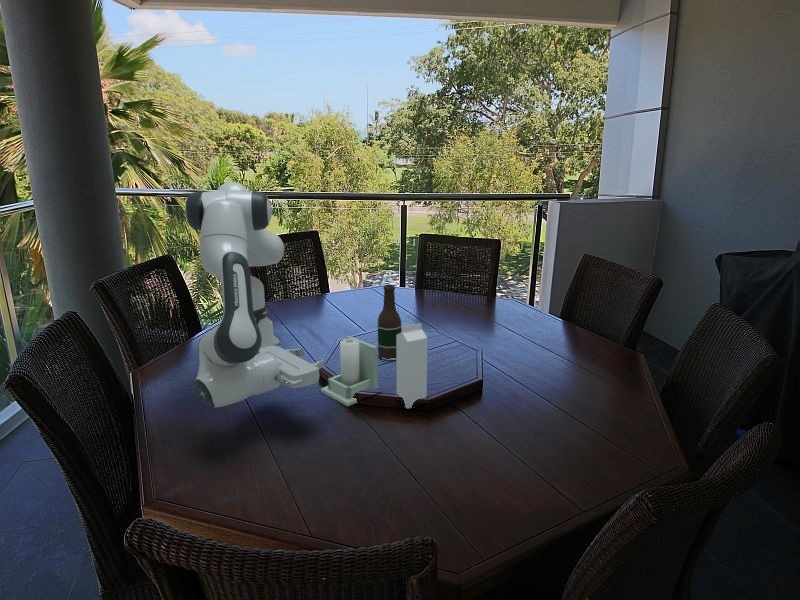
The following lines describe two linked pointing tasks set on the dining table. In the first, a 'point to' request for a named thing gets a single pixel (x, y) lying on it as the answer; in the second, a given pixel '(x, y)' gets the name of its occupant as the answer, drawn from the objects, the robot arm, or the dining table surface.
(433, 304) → the dining table surface
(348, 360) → the roll
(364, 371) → the holder
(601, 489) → the dining table surface
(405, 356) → the milk
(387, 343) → the beer bottle
